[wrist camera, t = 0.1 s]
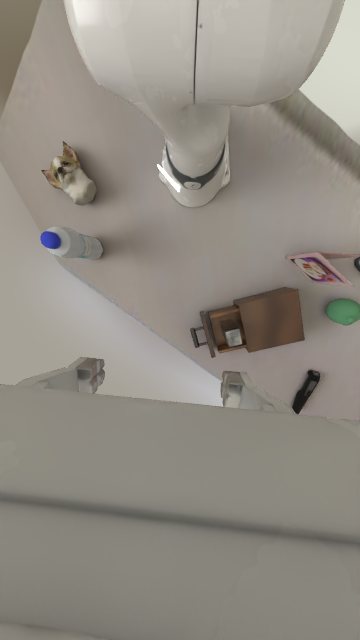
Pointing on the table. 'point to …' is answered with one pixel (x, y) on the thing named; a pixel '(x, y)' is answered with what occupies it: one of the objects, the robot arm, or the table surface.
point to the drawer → (220, 329)
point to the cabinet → (271, 319)
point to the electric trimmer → (306, 390)
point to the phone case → (357, 263)
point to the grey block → (231, 333)
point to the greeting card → (320, 267)
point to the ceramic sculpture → (70, 177)
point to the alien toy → (343, 311)
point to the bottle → (71, 244)
